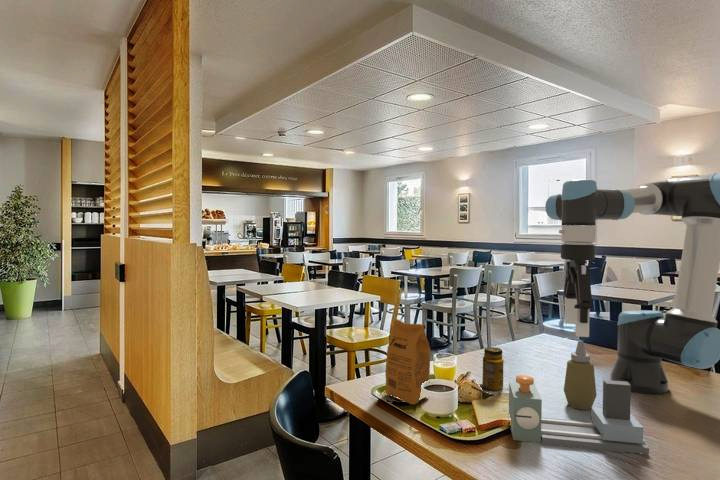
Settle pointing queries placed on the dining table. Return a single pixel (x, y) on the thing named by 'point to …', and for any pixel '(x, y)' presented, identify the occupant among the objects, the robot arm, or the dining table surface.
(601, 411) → the carriage
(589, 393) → the squeeze bottle
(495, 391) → the condiment
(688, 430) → the dining table surface
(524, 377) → the button
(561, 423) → the rail bed
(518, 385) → the gauge cabinet
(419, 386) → the coffee package
